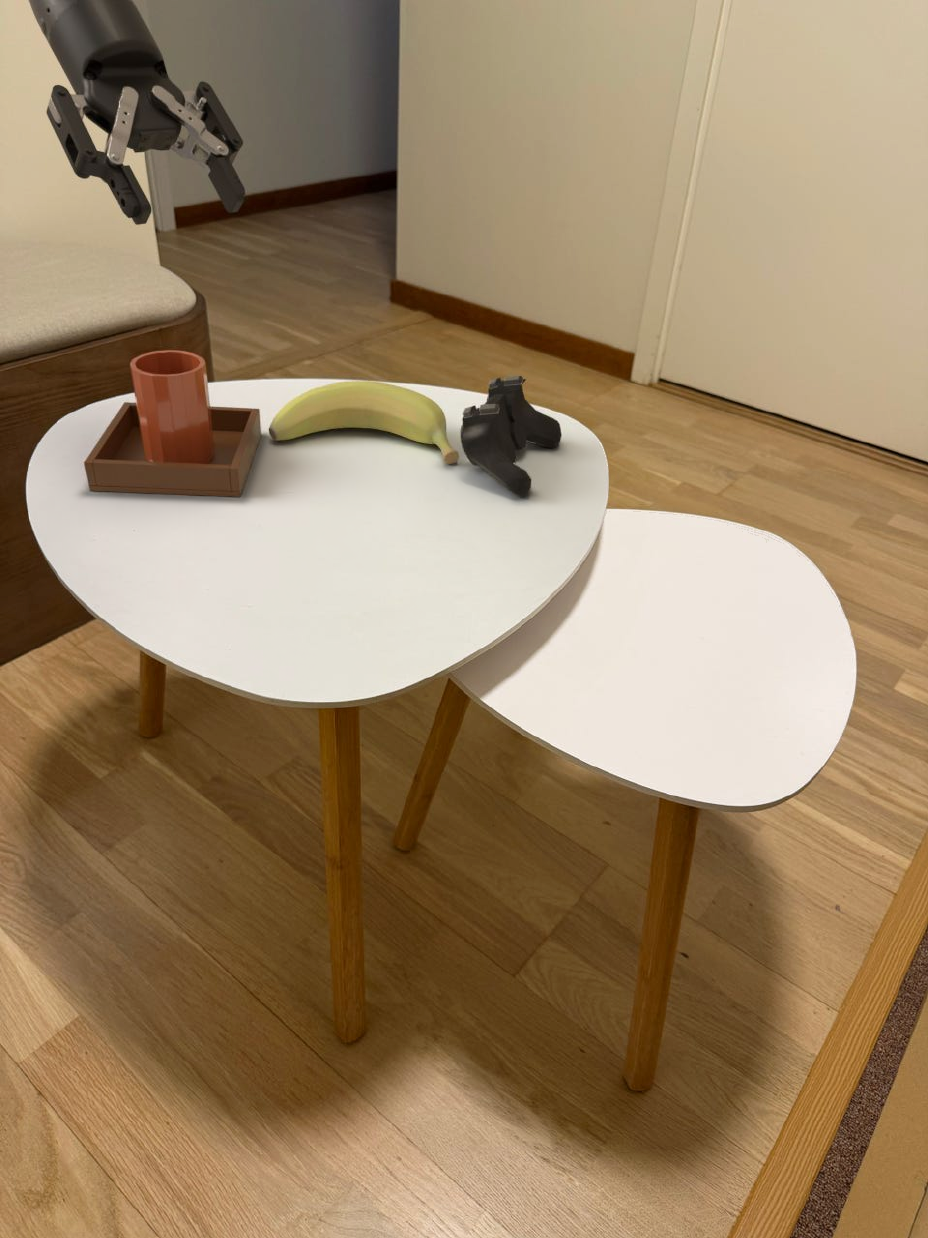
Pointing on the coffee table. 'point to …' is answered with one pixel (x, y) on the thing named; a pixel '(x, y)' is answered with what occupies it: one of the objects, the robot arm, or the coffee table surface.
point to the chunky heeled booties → (506, 433)
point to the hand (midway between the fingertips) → (193, 212)
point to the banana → (365, 413)
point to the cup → (173, 407)
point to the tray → (127, 470)
